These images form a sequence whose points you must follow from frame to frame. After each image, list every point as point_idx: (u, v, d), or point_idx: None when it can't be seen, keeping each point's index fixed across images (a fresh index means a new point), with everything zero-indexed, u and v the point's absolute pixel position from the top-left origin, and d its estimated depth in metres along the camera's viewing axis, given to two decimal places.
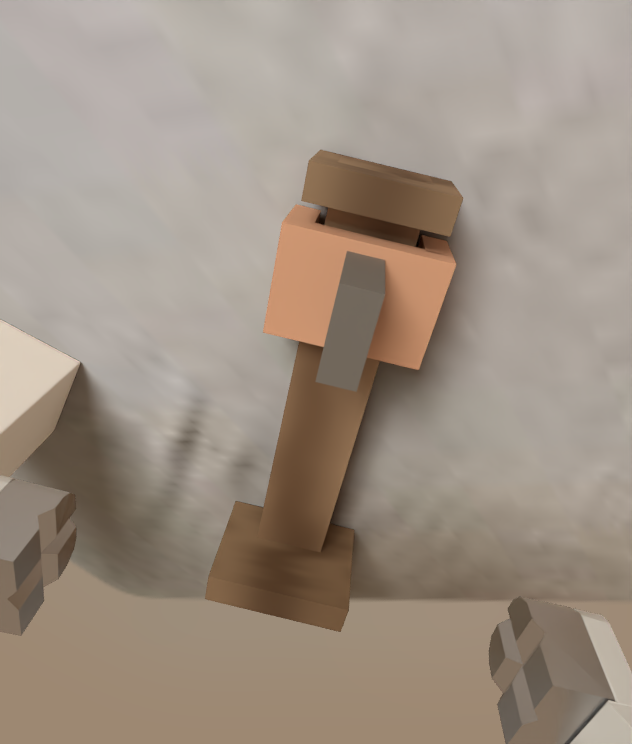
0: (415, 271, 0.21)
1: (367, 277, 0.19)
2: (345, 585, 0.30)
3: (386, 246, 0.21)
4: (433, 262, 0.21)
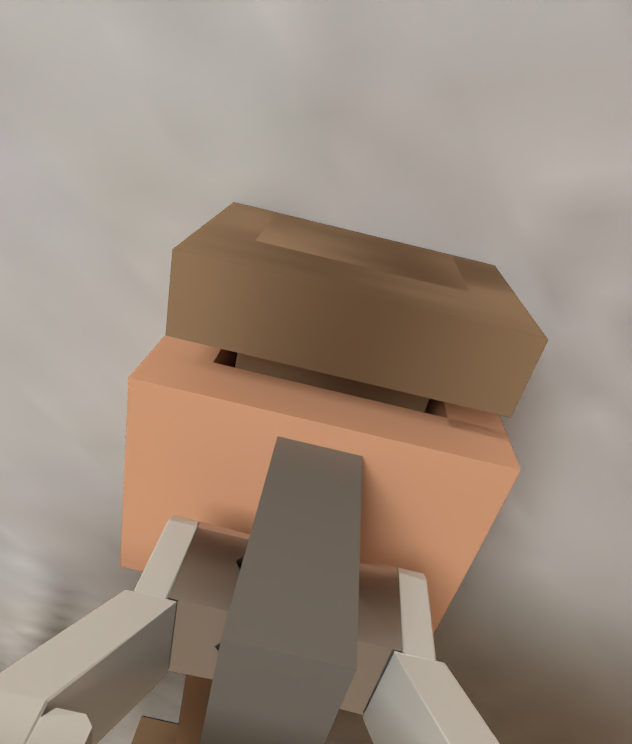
0: (429, 478, 0.10)
1: (311, 565, 0.07)
2: None
3: (365, 427, 0.09)
4: (469, 463, 0.09)
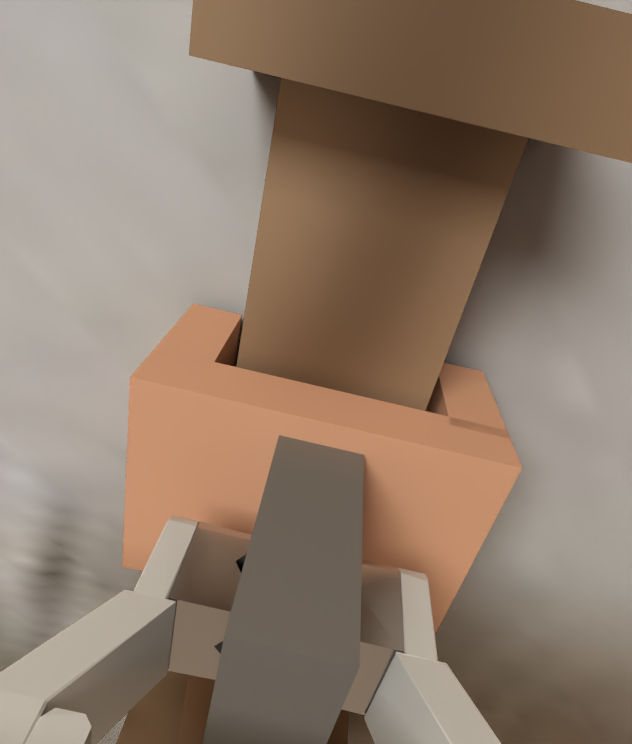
0: (431, 477, 0.10)
1: (314, 563, 0.07)
2: None
3: (366, 426, 0.09)
4: (470, 461, 0.09)
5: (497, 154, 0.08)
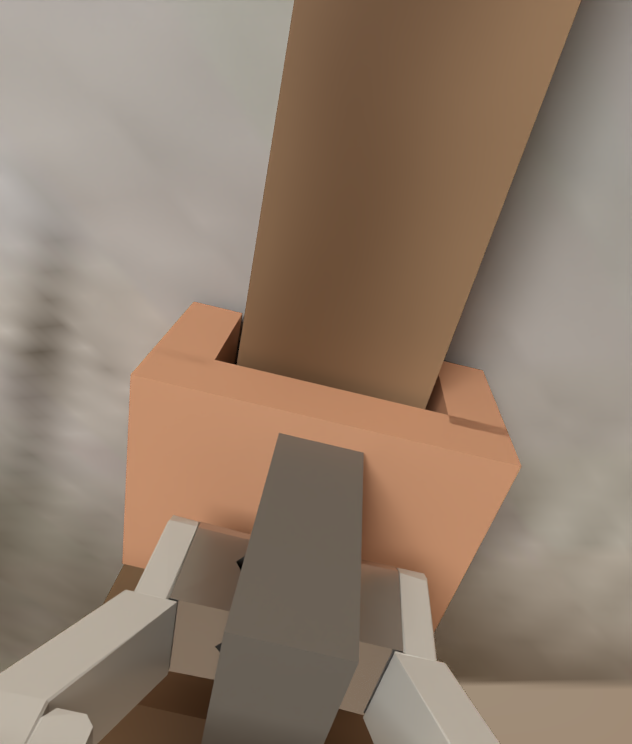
0: (430, 475, 0.10)
1: (313, 560, 0.07)
2: None
3: (366, 424, 0.09)
4: (470, 460, 0.09)
5: None
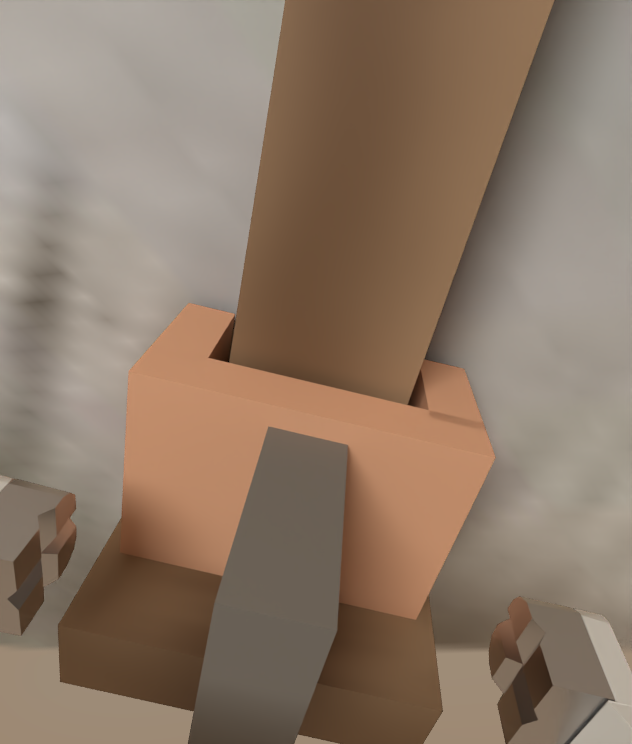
0: (411, 465, 0.10)
1: (298, 541, 0.08)
2: (422, 637, 0.12)
3: (350, 418, 0.10)
4: (447, 452, 0.10)
5: None
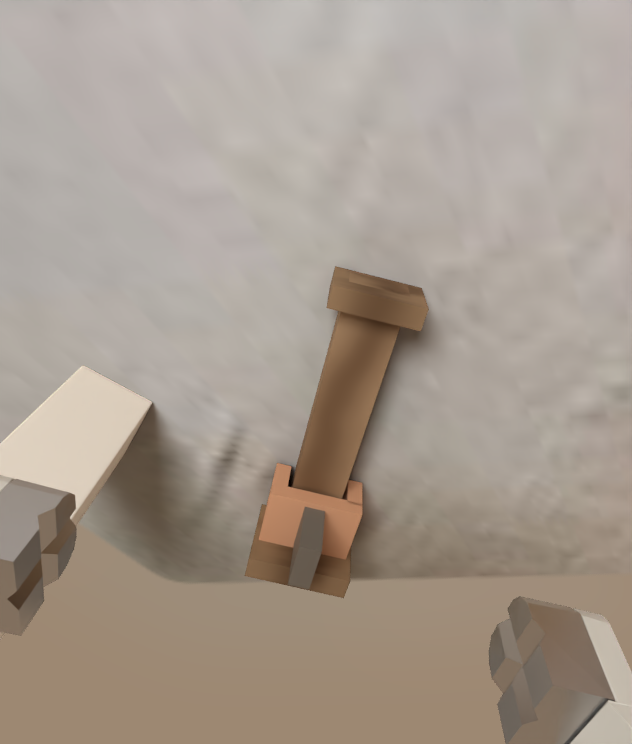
0: (341, 516, 0.39)
1: (313, 535, 0.37)
2: (346, 564, 0.41)
3: (325, 504, 0.39)
4: (350, 513, 0.39)
5: None
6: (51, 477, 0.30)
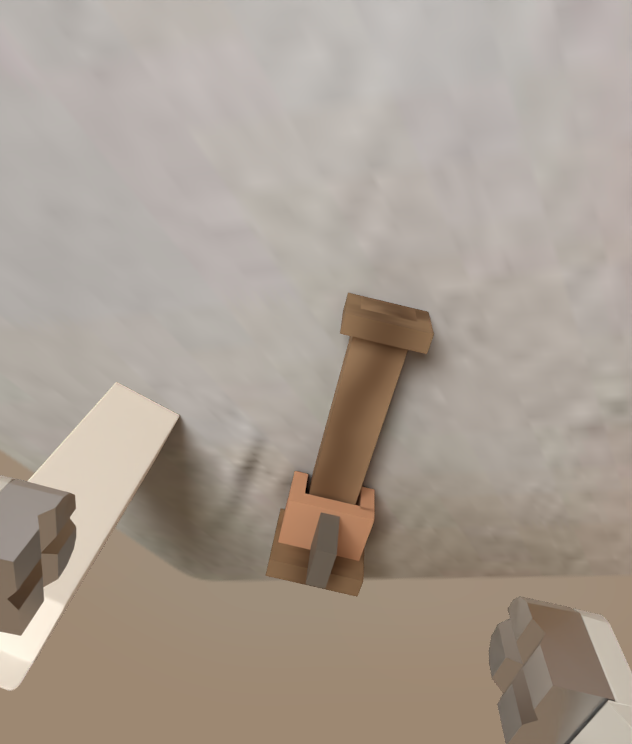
0: (355, 521, 0.42)
1: (329, 539, 0.40)
2: (360, 565, 0.44)
3: (340, 510, 0.42)
4: (363, 518, 0.42)
5: None
6: (93, 488, 0.34)
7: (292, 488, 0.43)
